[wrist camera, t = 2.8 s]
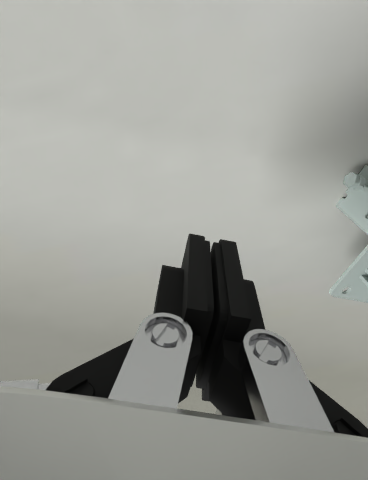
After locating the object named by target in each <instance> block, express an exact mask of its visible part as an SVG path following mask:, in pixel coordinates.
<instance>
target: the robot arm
mask: <svg viewBox="0 0 368 480" xmlns="http://www.w3.org/2000/svg"><path fill="white" fill-rule="evenodd" d="M195 375H196V387H197V388H201V389H202V400H204V401H211V403H212V404H213V405H214V406H215V407H216V408H217V410H216V414H210V413H203V412H197V411H190V410H183V409H177V406H178V403H179V402H181V401H182V400H184V399H185V398H186V397H187V396H188V393H189V390H190V387H192V385H193V381H194V378H195ZM0 480H368V429H367V428H366V427H365V426H364V425H363V424H362V423H361V422H360V421H359V420H358V419H356V418H355V417H354V416H353V415H352V414H350V413H349V412H348V411H347V410H345V409H344V408H343V407H342V406H340V405H339V404H338V403H337V402H335V401H334V400H333V399H332V398H330V397H329V396H328V395H327V394H325V393H324V392H323V391H322V390H320V389H319V388H318V387H317V386H315V385H314V384H313V383H312V382H310V381H309V380H308V378H307V376H306V374H305V372H304V370H303V368H302V366H301V364H300V362H299V360H298V358H297V356H296V354H295V352H294V350H293V348H292V347H291V345H290V344H289V343H288V342H287V341H286V340H285V339H284V338H283V337H281V336H280V335H278V334H277V333H274V332H272V331H269V330H265V327H264V323H263V318H262V314H261V310H260V306H259V302H258V298H257V294H256V290H255V286H254V283H253V281H249V280H244V279H243V275H242V270H241V265H240V260H239V255H238V250H237V245H236V242H232V241H227V240H221V239H220V241H219V243H216V242H214V243H213V245H212V249H211V253H210V241H205V237H204V236H200V235H194V234H189V236H188V240H187V244H186V249H185V253H184V258H183V262H182V267H181V268H176V267H170V266H165V265H162V269H161V274H160V280H159V285H158V290H157V296H156V302H155V307H154V313H153V314H152V315H149V316H148V317H146V318H145V319H144V320H143V321H142V322H141V324H140V326H139V328H138V330H137V333H136V335H135V337H134V339H132V340H130V341H128V342H126V343H124V344H122V345H120V346H118V347H116V348H114V349H112V350H110V351H108V352H106V353H104V354H102V355H100V356H98V357H96V358H94V359H92V360H90V361H88V362H86V363H84V364H82V365H80V366H78V367H76V368H74V369H72V370H70V371H68V372H66V373H64V374H62V375H61V376H59V377H58V378H56V379H55V380H53V381H52V383H46V384H39V379H35V380H15V381H0Z"/></svg>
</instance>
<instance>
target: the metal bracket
mask: <svg viewBox="0 0 368 480" xmlns="http://www.w3.org/2000/svg"><path fill="white" fill-rule="evenodd" d="M343 184H344V185H345V186H347V187H348V190H347V191H346V193H347V197H346V198H345V199H344V198H341V199H340V201H339V202H338V203H337V205H336V207H337V208H339V209H340V210H341V211H342V212H343V213H344V214H345V215H346V216H347V217H348V218H350V219H351V220H352V221H353V222H354V223H355V224H356V225H357V226H358V227H359V228H361V229H362V230H363V231H364V232H365V233H366V234H367V235H368V217H367V216H368V165H365V166H364V168H363V169H362V170H361V172H360V173H359V174H355V173H353V172H351V173H349V174H347V175H346V176H345V178H344V182H343ZM347 287H349V288H348V290H346V291H344V292H342V291H343V290H344V289H345V288H347ZM329 292H330V294H331V296H333V297H338V298H344V299H349V300H355V301H360V302H366V303H368V245H367V246H366V247H365V249H364V250H363V251H362V252H361V253H360V254H359V256H358V257H357V258H356V259H355V260H354V262H353V263H352V264H351V265H350V266H349V268H348V269H347V270H346V271H345V272H344V273H343V275H342V276H341V277H340V278H339V279H338V281H337V282H336V283H335V284H334V285H333V286H332V288H331V289H330V291H329Z"/></svg>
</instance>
